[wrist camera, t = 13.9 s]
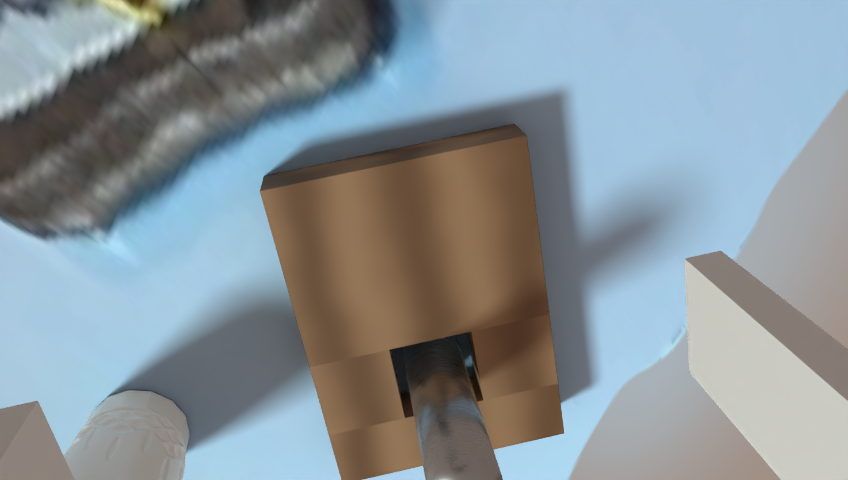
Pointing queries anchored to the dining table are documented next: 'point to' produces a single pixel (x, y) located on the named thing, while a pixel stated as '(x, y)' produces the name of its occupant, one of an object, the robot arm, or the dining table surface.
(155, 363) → the dining table surface
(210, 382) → the dining table surface
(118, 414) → the white cup
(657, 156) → the dining table surface
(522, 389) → the socket board
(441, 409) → the peg
